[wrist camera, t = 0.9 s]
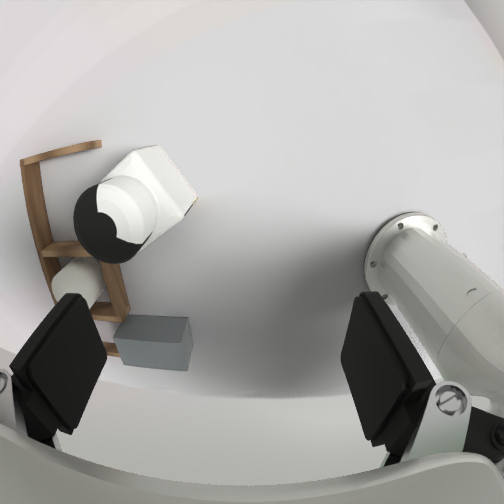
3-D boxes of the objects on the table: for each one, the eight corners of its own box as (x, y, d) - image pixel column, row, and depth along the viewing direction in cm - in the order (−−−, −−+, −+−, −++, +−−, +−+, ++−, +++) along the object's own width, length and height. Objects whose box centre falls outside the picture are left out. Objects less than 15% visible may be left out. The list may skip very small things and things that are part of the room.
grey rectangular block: (187, 317, 35) (180, 343, 30) (193, 345, 37) (187, 371, 32) (125, 314, 35) (112, 337, 30) (134, 341, 37) (124, 364, 32)
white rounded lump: (100, 254, 31) (81, 273, 27) (111, 295, 34) (96, 317, 29) (65, 254, 31) (45, 272, 26) (77, 293, 34) (60, 313, 29)
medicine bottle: (151, 233, 30) (105, 290, 19) (113, 185, 27) (48, 220, 17) (199, 196, 28) (169, 241, 17) (159, 143, 26) (103, 155, 15)
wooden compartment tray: (101, 139, 25) (87, 141, 22) (143, 350, 38) (137, 364, 35) (34, 156, 25) (19, 160, 22) (85, 342, 38) (77, 354, 35)
